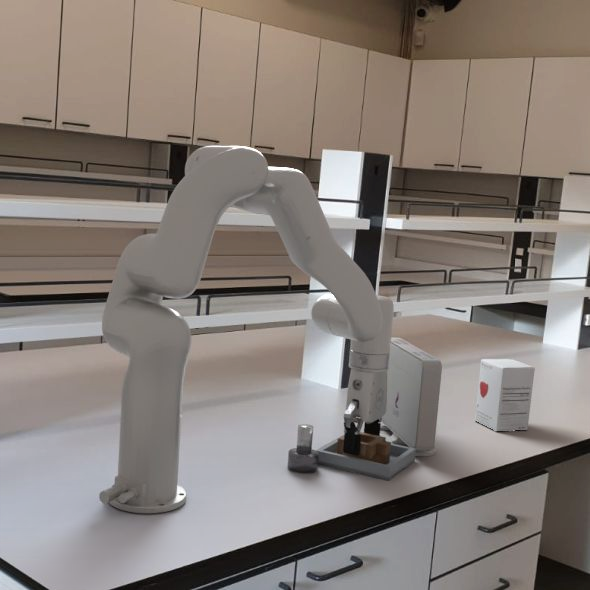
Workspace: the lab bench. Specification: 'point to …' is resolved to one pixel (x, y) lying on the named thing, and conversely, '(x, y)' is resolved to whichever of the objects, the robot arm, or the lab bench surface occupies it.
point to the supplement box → (504, 394)
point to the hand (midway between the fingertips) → (361, 447)
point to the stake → (303, 452)
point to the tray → (397, 463)
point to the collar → (370, 448)
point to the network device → (412, 397)
